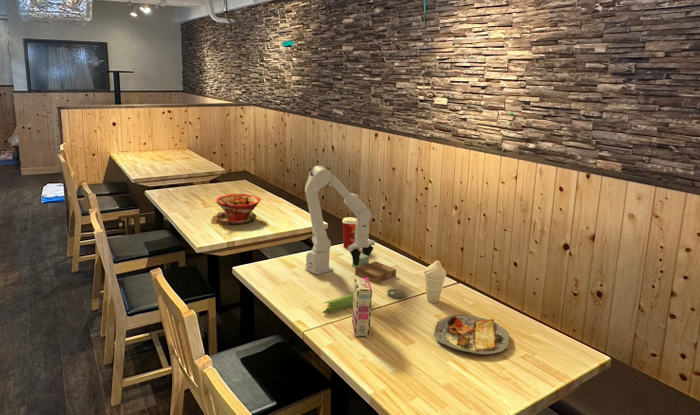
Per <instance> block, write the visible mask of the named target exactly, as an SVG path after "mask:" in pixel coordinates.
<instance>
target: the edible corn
mask: <svg viewBox="0 0 700 415" xmlns="http://www.w3.org/2000/svg"><path fill="white" fill-rule="evenodd" d="M353 295H354V292H353V293H350V294H347V295H344V296H341V297H337V298H334V299H330V300H327V301H324V302H323V304H326V305H327V306H326V307H327V308H325V309H324V310H323V311H322V312H321V313H322V314H328V313H331V312H336V311H340V310H344V309H349V308H353Z"/></svg>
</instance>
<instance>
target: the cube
mask: <svg viewBox="0 0 700 415" xmlns="http://www.w3.org/2000/svg"><path fill="white" fill-rule="evenodd" d="M369 263H370V256H367V255H365V254H363V252H361V254H360V257H359V264H358V266H356V265H354V262H353V261H352V265H351V266H352V267H353V268H356V267H359V266H362V265H365V264H369Z"/></svg>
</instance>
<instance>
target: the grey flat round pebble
mask: <svg viewBox="0 0 700 415" xmlns="http://www.w3.org/2000/svg"><path fill="white" fill-rule="evenodd" d="M386 293H387V294H386V295H387V296H388V297H389V298H391V299H394V300H400V299H402V300H403V299H404V298H406V295H407V294H406V293H407V292H406V291H405V290H404V289H402V288H390V289H388V290H387V292H386Z"/></svg>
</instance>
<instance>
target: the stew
mask: <svg viewBox="0 0 700 415" xmlns="http://www.w3.org/2000/svg"><path fill="white" fill-rule="evenodd" d="M260 202H261V199H260V197H259V196H258V197H257V196H255V195H252V194H251V195H250V194H246V193H230V194H225V195H221V196H219V197H216V203H217V205H218V206H219V207H220V208H221V209H222V210H223V211H220V212H217V214H215V215H213V216H212V218H211V220H210V222H211V223H210V224H212V225H217V224H219V225H218V226H225V225H230V226H241V225H247V224H251V223H252V222H254V221H255V219H256V218H257V214H255V212H253V211H254V210H255V208H256V207H257V205H258V204H259V203H260Z"/></svg>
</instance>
